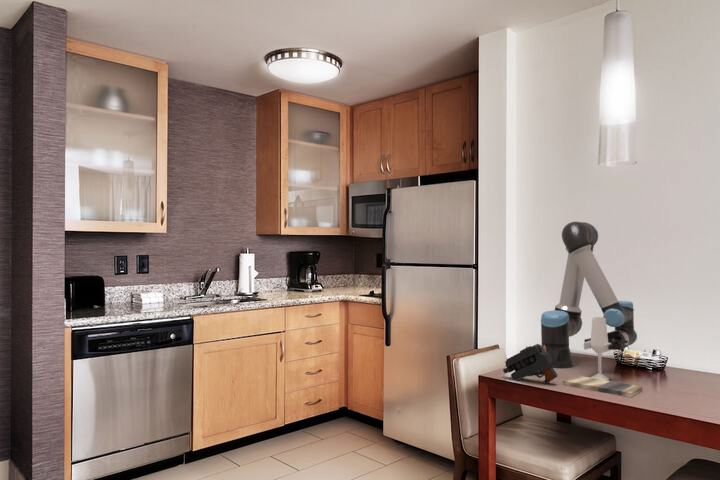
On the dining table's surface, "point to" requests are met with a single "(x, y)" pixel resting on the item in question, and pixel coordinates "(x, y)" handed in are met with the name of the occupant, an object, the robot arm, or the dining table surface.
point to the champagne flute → (599, 342)
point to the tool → (531, 364)
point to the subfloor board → (603, 386)
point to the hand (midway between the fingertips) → (594, 347)
